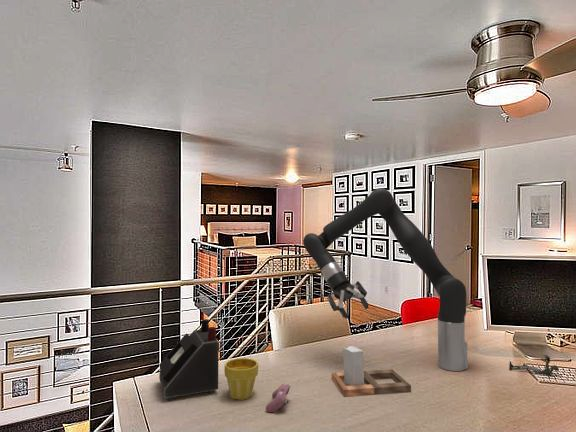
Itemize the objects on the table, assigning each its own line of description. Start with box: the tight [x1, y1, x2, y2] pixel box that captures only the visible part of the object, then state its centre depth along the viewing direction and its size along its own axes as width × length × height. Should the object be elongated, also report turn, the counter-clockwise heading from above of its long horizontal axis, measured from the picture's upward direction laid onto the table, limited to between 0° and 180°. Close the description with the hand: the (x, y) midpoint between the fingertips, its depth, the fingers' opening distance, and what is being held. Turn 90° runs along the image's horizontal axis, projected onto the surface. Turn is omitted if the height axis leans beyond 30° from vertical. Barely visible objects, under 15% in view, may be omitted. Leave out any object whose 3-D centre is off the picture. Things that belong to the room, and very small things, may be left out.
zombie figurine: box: [508, 354, 560, 376], centre depth 140 cm, size 5×7×15 cm
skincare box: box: [342, 345, 365, 386], centre depth 128 cm, size 6×4×12 cm
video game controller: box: [265, 383, 291, 413], centre depth 114 cm, size 10×5×7 cm, turn 170°
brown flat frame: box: [331, 369, 412, 397], centre depth 129 cm, size 22×14×2 cm, turn 99°
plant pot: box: [224, 357, 259, 401], centre depth 121 cm, size 10×10×10 cm
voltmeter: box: [158, 319, 220, 401], centre depth 126 cm, size 16×16×20 cm
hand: (357, 313), depth 142 cm, fingers open, 8 cm apart
